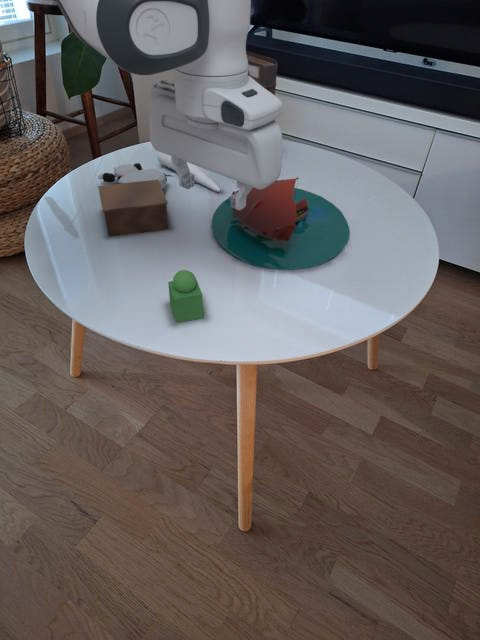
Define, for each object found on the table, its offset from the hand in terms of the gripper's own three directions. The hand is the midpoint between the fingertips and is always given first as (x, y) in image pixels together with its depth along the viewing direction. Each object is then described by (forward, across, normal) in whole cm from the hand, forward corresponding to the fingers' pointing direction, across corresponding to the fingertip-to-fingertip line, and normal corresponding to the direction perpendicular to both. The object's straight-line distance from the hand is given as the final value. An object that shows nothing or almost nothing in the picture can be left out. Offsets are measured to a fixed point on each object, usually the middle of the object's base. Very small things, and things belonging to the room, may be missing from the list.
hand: (211, 196), depth 66 cm
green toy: (+19, -1, -5) cm, 20 cm away
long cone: (+19, -33, +31) cm, 49 cm away
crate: (+19, -29, +9) cm, 36 cm away
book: (+19, -29, +47) cm, 58 cm away
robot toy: (+19, -39, +19) cm, 47 cm away
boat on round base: (+19, -4, +26) cm, 32 cm away
